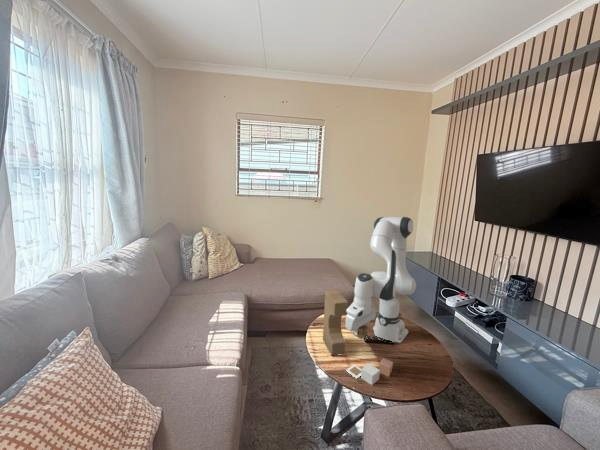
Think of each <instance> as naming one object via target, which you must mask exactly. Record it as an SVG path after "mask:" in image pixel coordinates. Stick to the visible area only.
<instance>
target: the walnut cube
mask: <svg viewBox="0 0 600 450" xmlns="http://www.w3.org/2000/svg"><path fill="white" fill-rule="evenodd" d="M368 329H369V326H366V325H363V326H361V327H359V328H358V329H357V331H359V334H358V335H355V334H354V331H352V335H353V336H355V337H356V338H358V339H360V340H362V339H364V338H366V337H367V336H368Z"/></svg>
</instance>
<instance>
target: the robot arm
mask: <svg viewBox="0 0 600 450" xmlns="http://www.w3.org/2000/svg"><path fill="white" fill-rule="evenodd" d="M413 231H414V222H413V219H412V218H410V217H407V216H396V215H395V216H381V217H377V218H376V219H375V220H374V223H373V231H372V233H371V237H370V244H369V247H370V250H371V251H372V252H373V253H374V254H375V255H376V256H378V257H379V258H381V259H383V260H384V261H385V263H386V265H387V266H386V271H382V270H378V271H377V270H376V271H372V272H371V274H369V273H359V274H357V276H356V278H355V283H354V290H353V291H354V292H353V293H354V297H353V301H352V303H351V304H350V305H348V308H347V309H346V312H347V313H348V314H347V315H345V316H346V317H345V329H346V330H348V331H349V332H353V331H354V334H355V335H358V334H359V331H357V329H358V328H359V327H361V326H363V325H366V326H368V325H369V323H370V322H372V321H373V320H375V323H374V326H372V330H373V332H374V333H373V334H374V336H375V337H376V336H377V337H380V338H383V339H386V340H390V341H392V342H391V343H398V344H400V343H402V342H403V341H404V339H405V338H406V337H407V335H408V334H409V330H408V329H407V328H405V327H406V323H405V321H403V320H402V319H400V317H402V316H403V313H401V312H400V307H401V306H400V305H401V304H400V302H399V300H398V298H396V297H395V296H396V294H398V295H403V296H404V295H407V296H408V295H409V296H410V295H413V293H415V292H416V289H417V283H416V281H415V279H414V277H412V275H411V274H410V273H409V271H408V269H407V266H406V259H407V258H406V255H407V249H408V247H407V246H408V245H407V241H408V240H407V238H408V237H409V236H410V235H411V234H412V232H413ZM372 297H374V298H378V299H379V308H378V309H379V310H378V313H377V311H376V306H375V305H376V303H375V302H374V301H373V299H372ZM376 314H377V317H376ZM375 318H376V319H375ZM368 327H369V326H368ZM355 335H354V336H355ZM377 337H376V338H377Z"/></svg>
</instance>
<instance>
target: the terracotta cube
mask: <svg viewBox="0 0 600 450" xmlns="http://www.w3.org/2000/svg"><path fill="white" fill-rule="evenodd" d="M393 367H394V362H393V361H392V360H389V359H387V358H384V357H383V358H381V360H380V362H379V368H378V369H379V370H380V375H384V376H386V377H390V375H391V373H392V372H393Z"/></svg>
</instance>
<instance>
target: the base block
mask: <svg viewBox="0 0 600 450" xmlns="http://www.w3.org/2000/svg"><path fill="white" fill-rule="evenodd" d="M361 369H362V370H361V377H360V378H361V379H362V380H363V379H364V380H363V381H364V382H366V383H367V384H369V385H370V384H371V385H370V386H373V385H374V384H375V383H376V382H377V381H379V380H380V375H381V373H380V370H379V368H377V367H376V366H375V365H373V364H371V363H370V362H369V363H367V364H365V366H363V367H362V368H361Z"/></svg>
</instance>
